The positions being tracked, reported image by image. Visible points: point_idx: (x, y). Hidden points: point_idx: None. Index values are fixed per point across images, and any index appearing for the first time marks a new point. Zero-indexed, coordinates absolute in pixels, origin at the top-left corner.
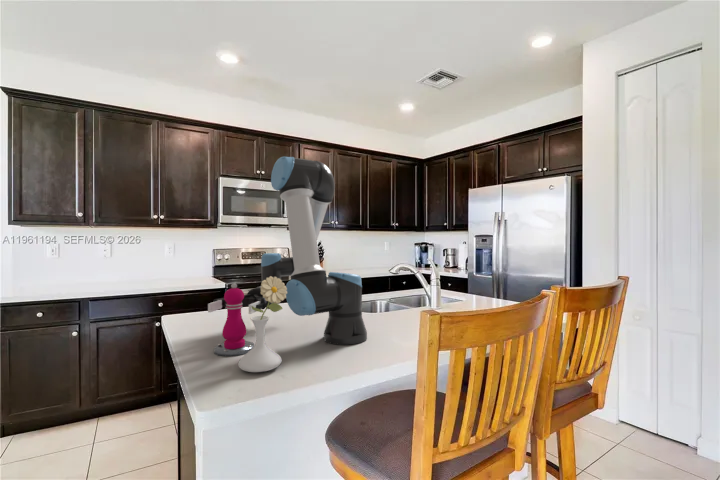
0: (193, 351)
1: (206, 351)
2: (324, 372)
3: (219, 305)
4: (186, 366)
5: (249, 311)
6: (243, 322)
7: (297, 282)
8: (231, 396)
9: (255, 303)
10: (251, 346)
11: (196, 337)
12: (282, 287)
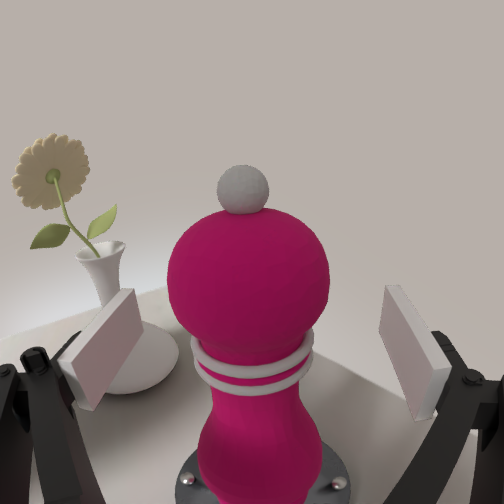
0: (415, 447)
1: (370, 461)
2: (21, 349)
3: (412, 376)
4: (327, 364)
5: (137, 320)
6: (205, 436)
7: None
8: (167, 297)
9: (96, 318)
10: (182, 486)
11: None
12: (24, 177)
